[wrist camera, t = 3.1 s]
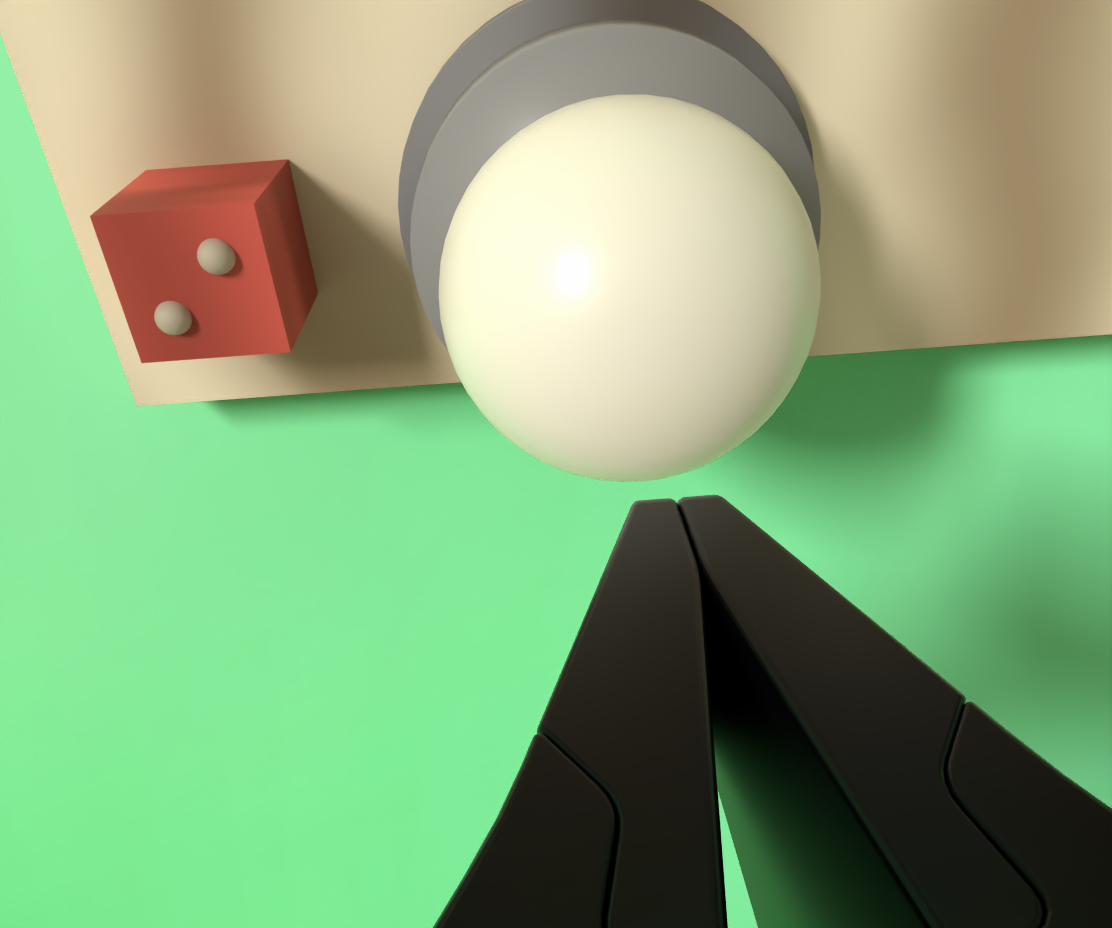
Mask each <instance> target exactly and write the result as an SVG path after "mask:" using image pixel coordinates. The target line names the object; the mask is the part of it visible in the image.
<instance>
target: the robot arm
mask: <svg viewBox="0 0 1112 928" xmlns="http://www.w3.org/2000/svg"><path fill="white" fill-rule="evenodd" d="M965 701H966V698H965V696H964V695H963V694H962V693H961V692H959V691H958V690H957V689H956V688H955V687H953V686H952V685H951V684H950V683H948V682H947V681H946V680H945V679H944V678H942V677H941V676H940V675H939V674H937V673H936V672H935V671H934V670H933V669H931V668H930V667H929V666H928V665H927V664H925V663H924V662H923V661H922V660H920V659H919V658H918V657H917V656H916V655H914V654H913V653H912V652H911V651H909V650H908V649H907V648H906V647H905V646H903V645H902V644H901V643H900V642H898V641H897V640H896V639H895V638H894V637H892V636H891V635H890V634H889V633H888V632H886V631H885V630H884V629H883V628H881V627H880V626H879V625H878V624H877V623H875V622H874V621H873V620H872V619H870V618H869V617H868V616H867V615H866V614H864V613H863V612H862V611H861V610H859V609H858V608H857V607H856V606H855V605H853V604H852V603H851V602H850V601H848V600H847V599H846V598H845V597H844V596H842V595H841V594H840V593H839V592H838V591H836V590H835V589H834V588H833V587H831V586H830V585H829V584H828V583H827V582H825V581H824V580H823V579H822V578H820V577H819V576H818V575H817V574H816V573H814V572H813V571H812V570H811V569H809V568H808V567H807V566H806V565H805V564H803V563H802V562H801V561H800V560H799V559H797V558H796V557H795V556H794V555H792V554H791V553H790V552H789V551H788V550H786V549H785V548H784V547H783V546H781V545H780V544H779V543H778V542H777V541H775V540H774V539H773V538H772V537H770V536H769V535H768V534H767V533H766V532H764V531H763V530H762V529H761V528H760V527H758V526H757V525H756V524H755V523H753V522H752V521H751V520H750V519H749V518H747V517H746V516H745V515H744V514H742V513H741V512H740V511H739V510H738V509H736V508H735V507H734V506H733V505H731V504H730V503H729V502H728V501H727V500H725V499H724V498H723V497H721V496H718V495H707V496H694V497H683V498H681V499H680V500H679V501H678V503H676V502H675V501H674V500H672V499H654V500H640V501H636V502H635V503H633V505H632V506H631V508H630V511H629V513H628V515H627V518H626V520H625V522H624V525H623V527H622V530H621V532H620V534H619V537H618V539H617V541H616V544H615V546H614V548H613V551H612V553H611V556H610V558H609V560H608V563H607V565H606V567H605V570H604V572H603V574H602V577H601V579H600V582H599V584H598V586H597V589H596V591H595V593H594V596H593V598H592V601H591V603H590V605H589V608H588V610H587V612H586V615H585V617H584V619H583V622H582V624H581V627H580V629H579V631H578V634H577V636H576V638H575V641H574V643H573V646H572V648H571V650H570V653H569V655H568V657H567V660H566V662H565V664H564V667H563V669H562V672H561V674H560V676H559V679H558V681H557V683H556V686H555V688H554V691H553V693H552V695H551V698H550V700H549V702H548V705H547V707H546V709H545V712H544V714H543V717H542V719H541V721H540V724H539V726H538V729H537V734H536V735H535V736H534V737H533V739H532V741H531V744H530V746H529V748H528V751H527V753H526V756H525V758H524V760H523V763H522V765H521V767H520V770H519V772H518V774H517V776H516V778H515V780H514V782H513V785H512V787H511V789H510V791H509V793H508V795H507V797H506V799H505V802H504V804H503V806H502V808H501V810H500V812H499V814H498V816H497V818H496V820H495V822H494V824H493V826H492V827H491V829H490V831H489V833H488V835H487V836H486V838H485V840H484V842H483V843H482V845H481V847H480V849H479V851H478V852H477V854H476V856H475V858H474V859H473V861H472V863H471V865H470V867H469V868H468V870H467V872H466V874H465V875H464V877H463V879H462V880H461V882H460V884H459V885H458V887H457V889H456V890H455V892H454V894H453V895H452V897H451V899H450V900H449V902H448V903H447V905H446V907H445V908H444V910H443V912H442V913H441V915H440V917H439V918H438V920H437V922H436V923H435V925H434V927H433V928H728V925H727V911H726V898H725V884H724V871H723V857H722V843H721V830H720V816H719V803H718V792H719V795H720V799H721V802H722V805H723V809H724V812H725V816H726V819H727V823H728V826H729V829H730V833H731V836H732V840H733V843H734V847H735V850H736V853H737V857H738V860H739V864H740V867H741V871H742V874H743V877H744V881H745V884H746V888H747V891H748V895H749V898H750V902H751V905H752V908H753V912H754V915H755V919H756V922H757V926H758V928H1112V808H1110V807H1109V806H1107V805H1106V804H1105V803H1103V802H1102V801H1100V800H1099V799H1098V798H1096V797H1095V796H1093V795H1092V794H1091V793H1089V792H1088V791H1086V790H1085V789H1084V788H1082V787H1081V786H1079V785H1078V784H1077V783H1075V782H1074V781H1072V780H1071V779H1070V778H1068V777H1067V776H1065V775H1064V774H1063V773H1061V772H1060V771H1059V770H1058V769H1056V768H1055V767H1054V766H1052V765H1051V764H1050V763H1049V762H1047V761H1046V760H1045V759H1043V758H1042V757H1041V756H1040V755H1038V754H1037V753H1036V752H1034V751H1033V750H1032V749H1031V748H1029V747H1028V746H1027V745H1025V744H1024V743H1023V742H1022V741H1020V740H1019V739H1018V738H1017V737H1015V736H1014V735H1013V734H1011V733H1010V732H1009V731H1008V730H1006V729H1005V728H1004V727H1003V726H1001V725H1000V724H999V723H998V722H997V721H995V720H994V719H993V718H992V717H990V716H989V715H988V714H987V713H986V712H984V711H983V710H982V709H981V708H979V707H978V706H977V705H976V704H975V703H973V702H967V703H966V704H965ZM717 788H718V789H717Z"/></svg>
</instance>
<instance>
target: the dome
mask: <svg viewBox="0 0 1112 928" xmlns="http://www.w3.org/2000/svg"><path fill="white" fill-rule="evenodd" d="M820 227H821V207H820V197H819V188H818V182H817V178H816V174H815V170H814V166H813V162H812V159H811V156H810V154H809V151H808V149H807V146H806V144H805V142H804V139H803V137H802V134H801V133H800V131H799V129H798V127H797V126H796V124H795V122H794V121H793V119H792V117H791V116H790V114H789V112H788V111H787V109H786V108H785V107H784V106H783V104H782V103H781V102H780V101H779V100H778V98H777V97H776V96H775V95H774V93H773V92H772V91H771V90H770V89H769V88H768V87H767V86H766V85H765V84H764V83H763V82H762V81H761V80H759V79H758V78H757V77H756V76H755V75H754V74H753V73H752V72H751V71H750V70H748V69H747V68H746V67H745V66H744V65H743V64H742V63H741V62H739V61H738V60H737V59H736V58H735V57H733V56H732V55H730V54H729V53H727V52H726V51H724V50H723V49H721V48H720V47H718V46H717V45H715V44H714V43H712V42H710V41H708V40H706V39H704V38H701V37H699V36H697V35H695V34H693V33H691V32H689V31H686V30H683V29H679V28H676V27H672V26H669V25H666V24H662V23H657V22H650V21H643V20H636V19H601V20H595V21H588V22H581V23H575V24H572V25H568V26H565V27H562V28H558V29H555V30H552V31H548V32H546V33H544V34H542V35H539V36H537V37H535V38H533V39H531V40H528V41H526V42H524V43H522V44H520V45H519V46H517V47H516V48H514V49H513V50H511V51H509V52H508V53H506V54H505V55H503V56H502V57H500V58H498V59H497V60H496V61H495V62H494V63H492V64H491V65H490V66H489V67H488V68H487V69H485V70H484V71H483V72H482V73H481V74H480V75H478V76H477V77H476V78H475V79H474V80H473V81H472V83H471V84H470V85H469V86H468V87H467V88H466V89H465V90H464V92H463V93H462V94H461V95H460V96H459V97H458V98H457V100H456V101H455V103H454V104H453V106H452V107H451V109H450V110H449V112H448V113H447V115H446V116H445V118H444V119H443V121H442V122H441V125H440V127H439V129H438V131H437V133H436V135H435V137H434V139H433V141H432V143H431V145H430V148H429V151H428V154H427V157H426V160H425V163H424V166H423V169H422V172H421V175H420V178H419V181H418V185H417V188H416V192H415V198H414V203H413V209H412V214H411V232H410V247H411V258H412V268H413V273H414V277H415V281H416V286H417V290H418V294H419V296H420V299H421V302H422V304H423V307H424V310H425V312H426V315H427V317H428V319H429V321H430V323H431V325H432V327H433V328H434V330H435V332H436V334H437V336H438V338H439V339H440V340H441V342H442V343H443V345H444V346H445V347H446V349H447V350H448V352H449V354H450V357H451V360H452V362H453V365H454V368H455V371H456V373H457V375H458V377H459V378H460V380H461V382H462V384H463V386H464V388H465V390H466V391H467V393H468V394H469V396H470V397H471V398H472V400H473V401H474V403H475V404H476V405H477V407H478V408H479V409H480V411H481V412H482V414H483V415H484V416H485V417H486V418H487V420H488V421H489V422H490V423H491V424H492V425H493V426H494V427H495V428H496V429H497V430H498V431H499V432H500V433H501V434H503V435H504V436H505V437H506V438H507V439H509V440H510V441H511V442H512V443H514V444H515V445H516V446H518V447H519V448H521V449H522V450H524V451H525V452H527V453H529V454H530V455H532V456H533V457H535V458H537V459H538V460H540V461H542V462H544V463H546V464H548V465H551V466H553V467H555V468H557V469H560V470H563V471H566V472H569V473H572V474H575V475H578V476H583V477H588V478H593V479H598V480H609V481H620V482H630V481H648V480H655V479H662V478H666V477H671V476H675V475H679V474H682V473H685V472H688V471H691V470H694V469H696V468H699V467H701V466H703V465H706V464H708V463H710V462H712V461H714V460H716V459H718V458H719V457H721V456H723V455H724V454H726V453H728V452H729V451H731V450H732V449H734V448H736V447H737V446H739V445H740V444H741V443H742V442H744V441H745V440H746V439H748V438H749V437H750V436H751V435H753V434H754V433H755V432H756V431H757V430H758V429H759V428H760V427H761V426H762V425H763V424H764V423H765V422H766V421H767V420H768V419H769V418H770V417H771V416H772V415H773V414H774V412H775V411H776V410H777V409H778V407H779V406H780V405H781V404H782V402H783V401H784V399H785V398H786V396H787V395H788V393H789V391H790V390H791V388H792V387H793V385H794V383H795V382H796V380H797V378H798V376H799V374H800V372H801V370H802V368H803V365H804V363H805V361H806V359H807V357H808V354H809V351H810V348H811V345H812V342H813V338H814V335H815V330H816V325H817V319H818V313H819V306H820V294H821V273H820V265H819V256H818V248H819V241H820Z"/></svg>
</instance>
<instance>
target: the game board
mask: <svg viewBox="0 0 1112 928" xmlns="http://www.w3.org/2000/svg"><path fill="white" fill-rule="evenodd" d="M601 19H636V20H643V21H650V22H657V23H662V24H666V25H669V26H672V27H676V28H679V29H683V30H686V31H689V32H691V33H693V34H695V35H697V36H699V37H701V38H704V39H706V40H708V41H710V42H712V43H714V44H715V45H717V46H718V47H720V48H721V49H723V50H724V51H726V52H727V53H729V54H730V55H732V56H733V57H735V58H736V59H737V60H738V61H739V62H741V63H742V64H743V65H744V66H745V67H746V68H747V69H748V70H750V71H751V72H752V73H753V74H754V75H755V76H756V77H757V78H758V79H759V80H761V81H762V82H763V83H764V84H765V85H766V86H767V87H768V88H769V89H770V90H771V91H772V92H773V93H774V95H775V96H776V97H777V98H778V100H779V101H780V102H781V103H782V104H783V106H784V107H785V108H786V109H787V111H788V112H789V114H790V116H791V117H792V119H793V121H794V122H795V124H796V126H797V127H798V129H799V131H800V133H801V134H802V137H803V139H804V142H805V144H806V146H807V149H808V151H809V154H810V156H811V159H812V162H813V166H814V170H815V174H816V178H817V182H818V188H819V197H820V207H821V227H820V241H819V248H818V256H819V265H820V273H821V294H820V306H819V313H818V319H817V325H816V330H815V335H814V338H813V342H812V345H811V348H810V351H809V354H808V357H810V356H823V355H837V354H851V353H864V352H878V351H891V350H905V349H918V348H932V347H945V346H959V345H973V344H986V343H1000V342H1013V341H1027V340H1040V339H1054V338H1067V337H1081V336H1094V335H1108V334H1112V0H0V34H1V36H2V39H3V42H4V45H5V47H6V50H7V53H8V55H9V58H10V61H11V64H12V66H13V69H14V72H15V75H16V77H17V80H18V83H19V86H20V88H21V91H22V94H23V96H24V99H25V102H26V105H27V107H28V110H29V113H30V116H31V118H32V121H33V124H34V127H35V129H36V132H37V135H38V137H39V140H40V143H41V146H42V148H43V151H44V154H45V157H46V159H47V162H48V165H49V168H50V170H51V173H52V176H53V178H54V181H55V184H56V187H57V189H58V192H59V195H60V198H61V200H62V203H63V206H64V209H65V211H66V214H67V217H68V219H69V222H70V225H71V228H72V230H73V233H74V236H75V239H76V241H77V244H78V247H79V250H80V252H81V255H82V258H83V261H84V263H85V266H86V269H87V271H88V274H89V277H90V280H91V282H92V285H93V288H94V291H95V293H96V296H97V299H98V302H99V304H100V307H101V310H102V312H103V315H104V318H105V321H106V323H107V326H108V329H109V332H110V334H111V337H112V340H113V343H114V345H115V348H116V351H117V353H118V356H119V359H120V362H121V364H122V367H123V370H124V373H125V375H126V378H127V381H128V384H129V386H130V389H131V392H132V394H133V397H134V400H135V403H136V405H137V406H146V405H160V404H173V403H187V402H200V401H214V400H227V399H241V398H254V397H268V396H282V395H295V394H309V393H322V392H336V391H349V390H363V389H376V388H390V387H403V386H417V385H431V384H444V383H458V382H461V380H460V378H459V377H458V375H457V373H456V371H455V368H454V365H453V362H452V360H451V357H450V354H449V352H448V350H447V349H446V347H445V346H444V345H443V343H442V342H441V340H440V339H439V338H438V336H437V334H436V332H435V330H434V328H433V327H432V325H431V323H430V321H429V319H428V317H427V315H426V312H425V310H424V307H423V304H422V302H421V299H420V296H419V294H418V290H417V286H416V281H415V277H414V273H413V268H412V258H411V247H410V232H411V214H412V209H413V203H414V198H415V192H416V188H417V185H418V181H419V178H420V175H421V172H422V169H423V166H424V163H425V160H426V157H427V154H428V151H429V148H430V145H431V143H432V141H433V139H434V137H435V135H436V133H437V131H438V129H439V127H440V125H441V122H442V121H443V119H444V118H445V116H446V115H447V113H448V112H449V110H450V109H451V107H452V106H453V104H454V103H455V101H456V100H457V98H458V97H459V96H460V95H461V94H462V93H463V92H464V90H465V89H466V88H467V87H468V86H469V85H470V84H471V83H472V81H473V80H474V79H475V78H476V77H477V76H478V75H480V74H481V73H482V72H483V71H484V70H485V69H487V68H488V67H489V66H490V65H491V64H492V63H494V62H495V61H496V60H497V59H498V58H500V57H502V56H503V55H505V54H506V53H508V52H509V51H511V50H513V49H514V48H516V47H517V46H519V45H520V44H522V43H524V42H526V41H528V40H531V39H533V38H535V37H537V36H539V35H542V34H544V33H546V32H548V31H552V30H555V29H558V28H562V27H565V26H568V25H572V24H575V23H581V22H588V21H595V20H601Z"/></svg>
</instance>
